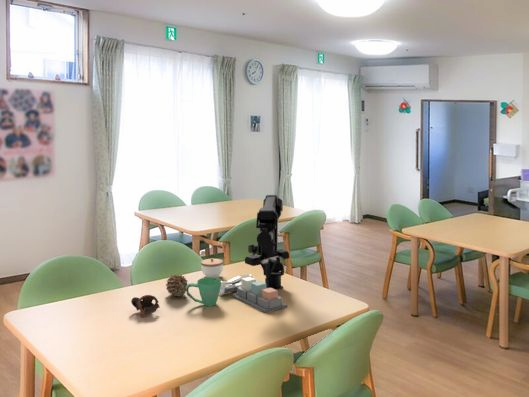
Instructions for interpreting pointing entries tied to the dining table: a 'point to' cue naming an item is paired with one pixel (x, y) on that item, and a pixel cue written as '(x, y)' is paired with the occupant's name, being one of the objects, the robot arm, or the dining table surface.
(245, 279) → the key ivory
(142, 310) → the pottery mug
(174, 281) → the pine cone
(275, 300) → the keypad base
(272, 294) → the salmon pink block
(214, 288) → the mug
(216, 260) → the lidded jar
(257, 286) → the key teal
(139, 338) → the dining table surface
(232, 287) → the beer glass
